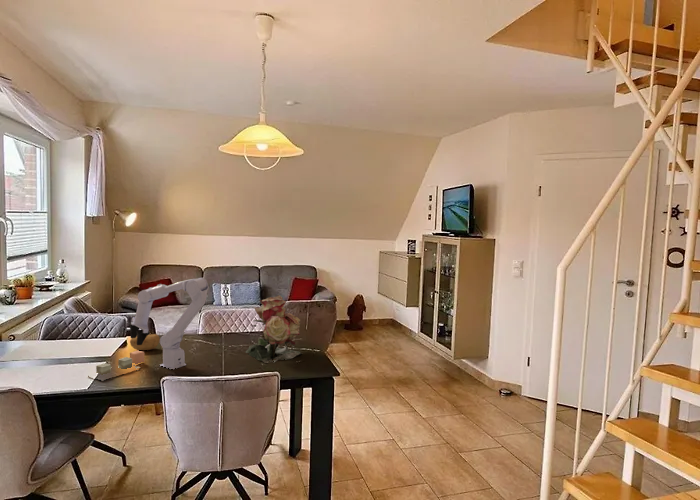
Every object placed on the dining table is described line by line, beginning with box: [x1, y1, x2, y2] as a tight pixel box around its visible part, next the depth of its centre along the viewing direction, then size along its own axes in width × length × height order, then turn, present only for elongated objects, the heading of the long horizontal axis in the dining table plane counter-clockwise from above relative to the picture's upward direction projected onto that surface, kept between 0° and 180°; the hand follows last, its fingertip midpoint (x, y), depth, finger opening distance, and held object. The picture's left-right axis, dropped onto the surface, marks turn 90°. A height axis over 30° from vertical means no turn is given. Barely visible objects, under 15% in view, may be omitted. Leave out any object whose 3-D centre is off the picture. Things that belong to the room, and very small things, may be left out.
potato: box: [129, 333, 161, 351], centre depth 229 cm, size 10×14×8 cm
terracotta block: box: [129, 350, 145, 364], centre depth 209 cm, size 4×4×6 cm
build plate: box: [95, 356, 141, 375], centre depth 196 cm, size 10×18×5 cm, turn 151°
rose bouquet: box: [241, 295, 303, 364], centre depth 228 cm, size 26×29×30 cm
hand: (136, 341), depth 209 cm, fingers open, 7 cm apart
